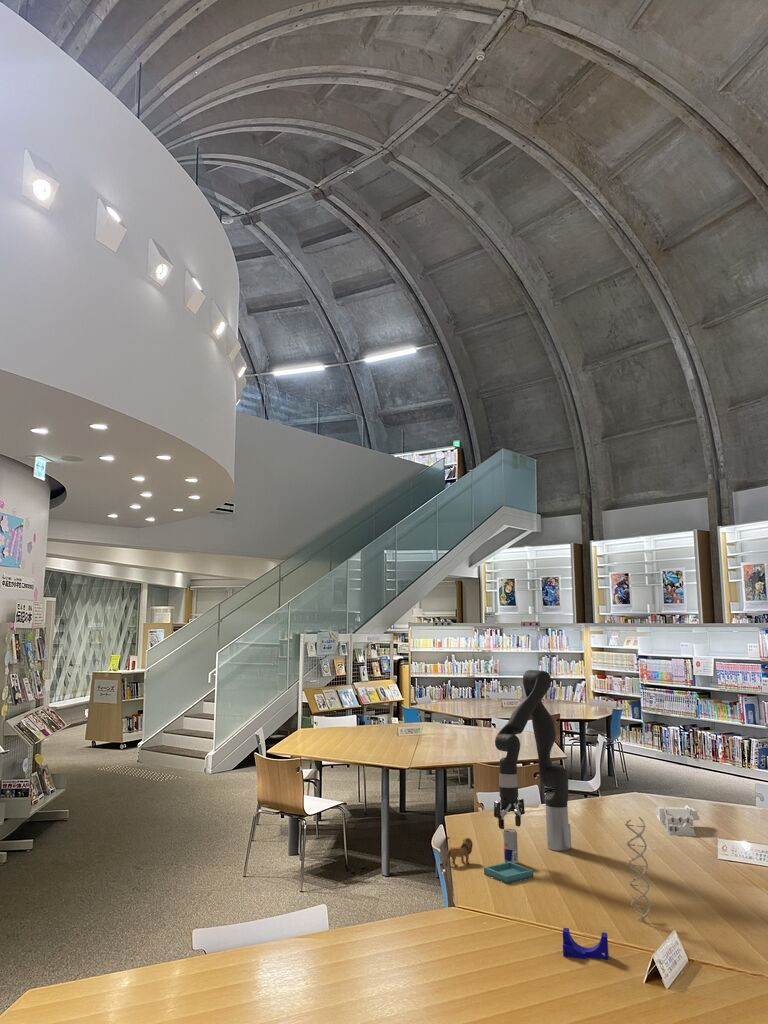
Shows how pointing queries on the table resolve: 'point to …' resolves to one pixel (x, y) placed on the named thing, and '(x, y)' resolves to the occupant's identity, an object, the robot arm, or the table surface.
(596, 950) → the blue curved block
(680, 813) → the house model
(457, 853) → the lion figurine
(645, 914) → the dna model
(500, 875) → the tray
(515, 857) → the energy drink
